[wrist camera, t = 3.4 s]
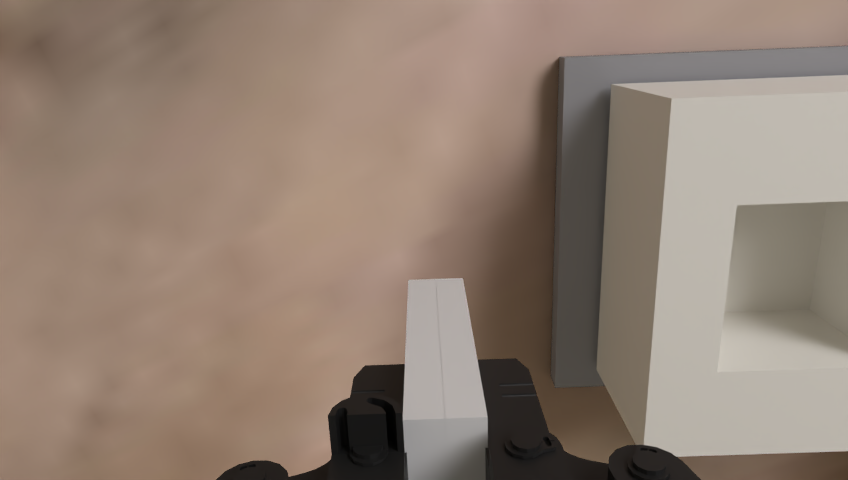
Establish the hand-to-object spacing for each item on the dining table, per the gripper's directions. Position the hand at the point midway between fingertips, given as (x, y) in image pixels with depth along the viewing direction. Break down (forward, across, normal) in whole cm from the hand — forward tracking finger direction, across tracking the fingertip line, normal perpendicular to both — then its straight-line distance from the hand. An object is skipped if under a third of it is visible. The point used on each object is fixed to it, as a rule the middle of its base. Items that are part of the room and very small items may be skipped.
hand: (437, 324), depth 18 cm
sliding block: (+8, -12, 0) cm, 14 cm away
